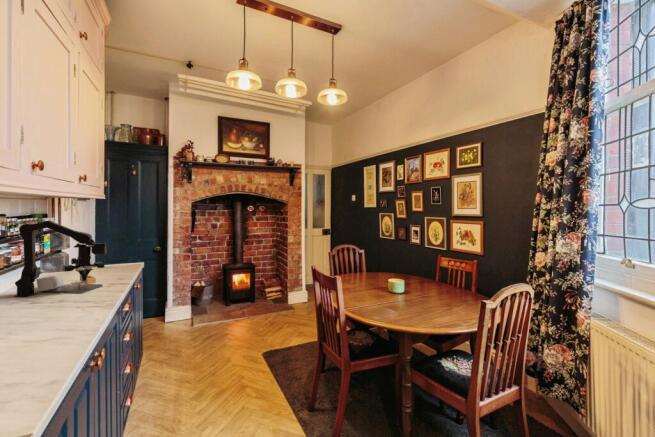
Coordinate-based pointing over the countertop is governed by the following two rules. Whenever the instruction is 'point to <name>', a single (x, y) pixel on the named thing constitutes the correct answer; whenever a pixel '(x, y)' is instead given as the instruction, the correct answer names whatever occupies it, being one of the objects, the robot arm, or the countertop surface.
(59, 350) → the countertop surface
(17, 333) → the countertop surface
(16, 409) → the countertop surface
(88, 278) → the swing arm
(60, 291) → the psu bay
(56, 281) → the supplement box
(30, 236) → the robot arm
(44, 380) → the countertop surface
